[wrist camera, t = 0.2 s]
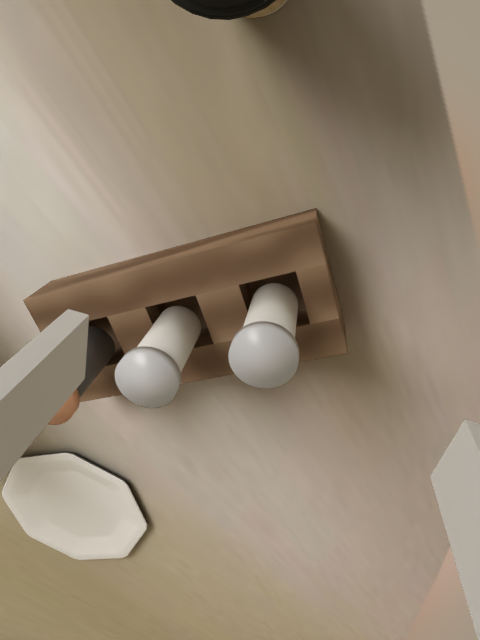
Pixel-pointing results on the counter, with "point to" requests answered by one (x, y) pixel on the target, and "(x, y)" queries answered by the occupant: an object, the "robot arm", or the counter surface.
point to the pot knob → (88, 370)
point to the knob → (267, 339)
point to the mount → (205, 295)
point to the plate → (74, 506)
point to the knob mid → (159, 359)
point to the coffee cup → (230, 8)
